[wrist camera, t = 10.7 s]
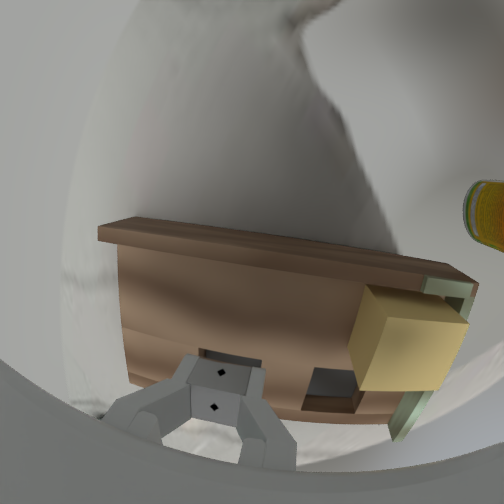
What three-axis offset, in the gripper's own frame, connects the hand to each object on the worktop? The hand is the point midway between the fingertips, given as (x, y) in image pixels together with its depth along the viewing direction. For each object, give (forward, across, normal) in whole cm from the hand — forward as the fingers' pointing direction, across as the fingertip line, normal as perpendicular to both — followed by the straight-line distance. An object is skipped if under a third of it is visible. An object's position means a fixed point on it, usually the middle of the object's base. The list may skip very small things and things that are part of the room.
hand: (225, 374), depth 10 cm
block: (+9, -10, +2) cm, 14 cm away
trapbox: (+12, -2, +5) cm, 13 cm away
